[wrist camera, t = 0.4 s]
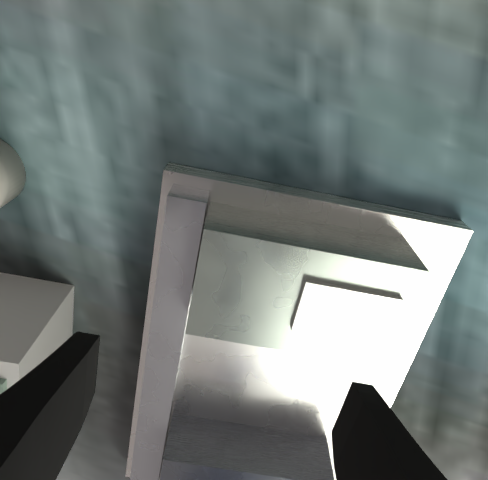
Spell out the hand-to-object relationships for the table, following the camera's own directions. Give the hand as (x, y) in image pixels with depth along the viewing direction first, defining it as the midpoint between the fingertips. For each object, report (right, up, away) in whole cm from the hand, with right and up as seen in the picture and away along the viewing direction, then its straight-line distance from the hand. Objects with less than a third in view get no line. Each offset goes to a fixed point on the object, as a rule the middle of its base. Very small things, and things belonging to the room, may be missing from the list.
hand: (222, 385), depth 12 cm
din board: (+2, -2, +12) cm, 13 cm away
